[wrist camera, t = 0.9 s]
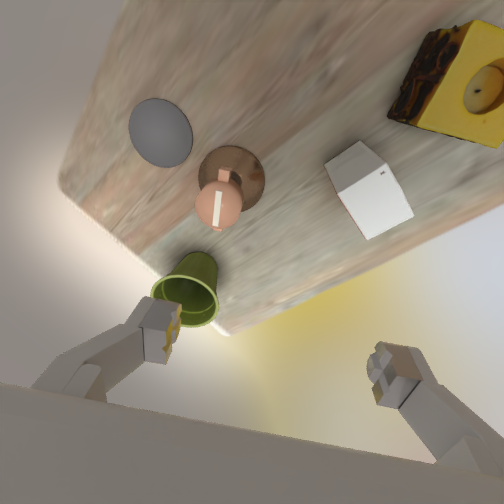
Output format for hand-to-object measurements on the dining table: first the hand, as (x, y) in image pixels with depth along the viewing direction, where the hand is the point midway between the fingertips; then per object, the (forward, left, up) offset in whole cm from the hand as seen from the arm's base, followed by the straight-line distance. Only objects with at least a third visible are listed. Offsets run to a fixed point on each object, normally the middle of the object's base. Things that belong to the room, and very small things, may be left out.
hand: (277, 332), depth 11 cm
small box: (+2, +12, -38) cm, 39 cm away
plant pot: (+26, -11, -38) cm, 47 cm away
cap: (+7, -7, -29) cm, 31 cm away
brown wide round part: (+7, -7, -37) cm, 39 cm away
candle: (-11, +19, -38) cm, 44 cm away
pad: (+2, -19, -37) cm, 42 cm away
